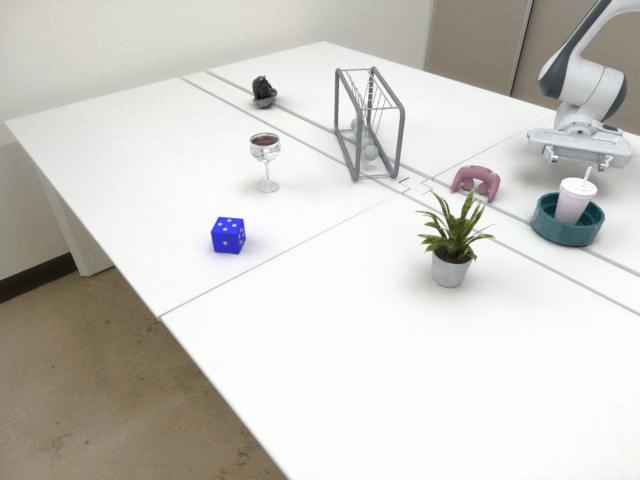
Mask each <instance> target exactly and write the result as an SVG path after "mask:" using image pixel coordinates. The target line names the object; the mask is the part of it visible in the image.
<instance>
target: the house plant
mask: <svg viewBox="0 0 640 480" xmlns="http://www.w3.org/2000/svg"><path fill="white" fill-rule="evenodd" d="M427 190H429V192H430V193H432V195H433V196H434V197H435V198H436V200H437V201H438V203H439V206H440V208H441V211H442V214H443V217H444V219H445V222H446V224H447V226H446V224H445V223H444V221H443V220H442V219H441V218H440V217H439V216H437V215H436V214H435V213H433V212H431V211H426V210H425V211H424V210H415V211H414V212H415V213H420V214H423V216H426V217H429V218H432V221H428V222H426V223H424V224H423V226H426V227H431V228H433V229H436V230H437V232H438V233H439V235H434V234H427V233H425V234H420V233H419V234H417V237H420V238H424V239H423V240H422V241H421V243H420V244H419V245H427V247H426V249H425V250H424V252H423V254H425V253H427V252H431V270H432V271H431V274H432V275H431V276H432V280H433V281H434V282H435V283H436V284H437V285H439V286H440V287H443V288H448V289H449V288H457V287H458V286H459V285H461V283H462V282H463V280H464V278H465V276H466V273H467V271H468V270H469V268H470V266H471V265H472V262H473V260H474V263H476V262H477V259H478V256H477V255H476V254H475V251H474V249H473V248H472V247H471V246H470V244H472V243H473V242H475V241H477V240H483V239H489V238H492V239H495V240H497V239H496V237H495V236H494V235H492V234H489V233H484V234H479V233H481V232H483V231H485V230H486V229H488V228H489V227H492V226H494V225H495V223H493V224H490V225H488V226H486V227H484V228H482V229H480V230H478V231H476V232H475V233H474V234H472V235H470V234H471V233H472V231H473V229H474V228H475V226H476V224H478V222H479V221H480V219H481V217H482V215H483V213H484V211H485V208H486V204H484V205H483V206H482V208H481V203H482V200H479V202H478V204H477V206H476V207H475V209H474V210H473V213H472V214H471V216H470V218H469V219H468V218H467V216H468V213H469V211H470V210H471V208H472V206H473V204H474V203H475V202H477V200H478V199H479V198H474V192H475V186H474V187H473V188H472V189H470V190H469V192H468V194H467V196H466V198H465V201H464V203H463V205H462V207H461V211H460V217H457V218H456V217H455V216H454V215H453V214H452V213H451V211H450V207H449V203H448V202H447V201H446V200H445V199H444V197H442V196H440V195H438V194H437V193H436V192H434V191H432V190H430V189H429V188H428V189H427ZM480 208H481V209H480ZM440 223H441V224H442V225H443V226H444V227H445V228H444V227H441V225H440ZM447 235H448V237H447ZM469 235H470V236H469ZM468 236H469V237H468Z"/></svg>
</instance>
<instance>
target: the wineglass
mask: <svg viewBox="0 0 640 480" xmlns="http://www.w3.org/2000/svg"><path fill="white" fill-rule="evenodd" d="M248 139H249V141H248V142H249V143H250V144H249V152H250V154H251V155H252V157H253V159H255V160H257V161H258V162H261V163H263V164H264V166H265V173H266V180H265V181H262V182H260V183H259V184H258V186H257V189H258V190H259V191H260V192H262V193H273V192H275V191H277V190H279V188H280V184H279V183H278V182H277V181H274V180H270V170H269V169H270V167H269V163H271V162H273V161H275V160H276V158H278V157H279V155H280V154H281V150H282V148H281V147H282V146H281V143H280V140H281V137H280V136H279V135H278V134H277V133H273V132H267V131H266V132H265V131H264V132H257V133H255V134H253V135H251V136H250V137H249V138H248Z"/></svg>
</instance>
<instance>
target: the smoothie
mask: <svg viewBox="0 0 640 480" xmlns="http://www.w3.org/2000/svg"><path fill="white" fill-rule="evenodd" d="M592 170H593V166H591V165H589V166H588V168H587V170H586V173H585V175H584V177H583V178H579V177H566V178H564V179H562V180H561V182H560V183H559V189H560V190H559V192H560V194H559V199H558V203H557V207H556V212H555V216H554V219H555V220H558V221H560V222H563V223H566V224H570V225H574V226H575V224H576V223H577V221H578V219H579V218H580V216H581V215H582V213H583V211H584V210H585V208H586V207H587V205H588V204H589V202H590V201H592V199H593V198H595V197H596V195H597V192H598V188H597V186H596V185H595V184H594V183H593V182H591V181H588V178H589V176H590V174H591V172H592Z"/></svg>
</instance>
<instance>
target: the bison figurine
mask: <svg viewBox="0 0 640 480" xmlns="http://www.w3.org/2000/svg"><path fill="white" fill-rule="evenodd" d="M251 89H252V93H253V97H254V98H253V100H252V101H253V103H254V104H255V105H256V106H257V107H259V108H265V107H268V106H270V105H271V104H272V103H273V102H274V101H275V100H274V99H275V98H276V97H277V96H278V90H277V89H276V88H273V86H272V85H271V83H270V82H269V80H268V79H267V78H266V75H259V76H257V77H256V78H253V80H252V82H251Z"/></svg>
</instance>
